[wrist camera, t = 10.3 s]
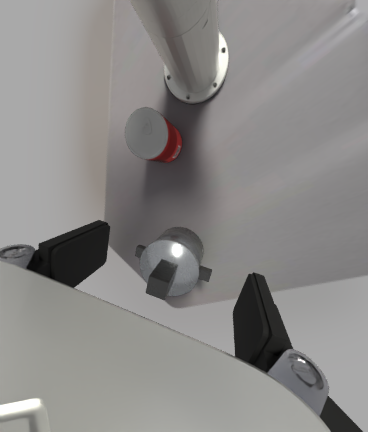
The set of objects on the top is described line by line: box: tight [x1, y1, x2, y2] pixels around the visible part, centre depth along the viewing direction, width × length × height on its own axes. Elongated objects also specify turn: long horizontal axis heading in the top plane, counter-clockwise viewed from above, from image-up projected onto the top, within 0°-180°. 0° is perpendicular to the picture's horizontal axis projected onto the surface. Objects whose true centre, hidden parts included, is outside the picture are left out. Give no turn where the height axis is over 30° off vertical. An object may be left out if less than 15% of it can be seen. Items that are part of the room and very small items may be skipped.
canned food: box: [125, 107, 182, 163], centre depth 33 cm, size 8×8×11 cm
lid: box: [140, 239, 199, 300], centre depth 32 cm, size 13×13×7 cm
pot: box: [135, 227, 212, 282], centre depth 40 cm, size 12×17×9 cm
